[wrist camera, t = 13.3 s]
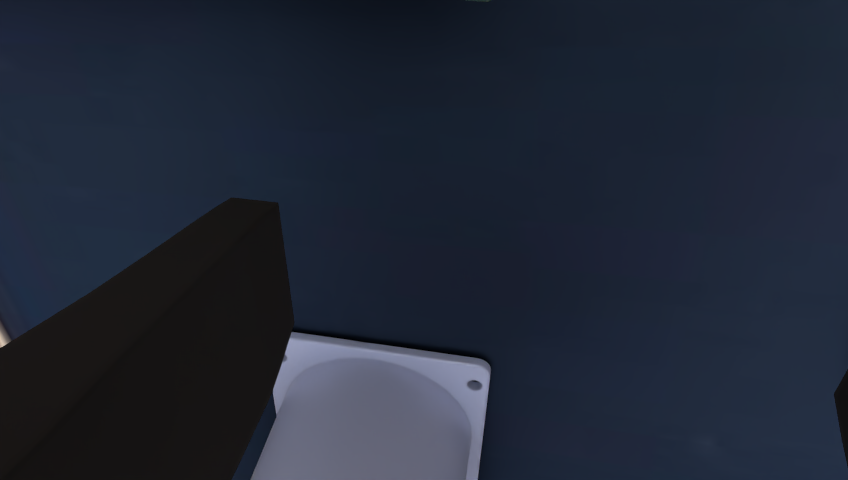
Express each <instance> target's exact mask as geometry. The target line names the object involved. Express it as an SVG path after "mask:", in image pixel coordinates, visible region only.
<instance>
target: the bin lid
mask: <svg viewBox="0 0 848 480" xmlns="http://www.w3.org/2000/svg"><path fill="white" fill-rule="evenodd" d="M467 1H479V2H490V1H491V0H467Z"/></svg>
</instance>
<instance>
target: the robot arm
mask: <svg viewBox="0 0 848 480" xmlns="http://www.w3.org/2000/svg"><path fill="white" fill-rule="evenodd" d="M293 326H294V316H293V308H292V301H291V294H290V286H289V279H288V272H287V264H286V257H285V250H284V242H283V235H282V228H281V220H280V213H279V206H278V203H276V202H267V201H258V200H249V199H240V198H230V199H228V200H227V201H225V202H223V203H222V204H220V205H218V206H217V207H215V208H214V209H212V210H211V211H209V212H208V213H206V214H205V215H203V216H202V217H200V218H199V219H197V220H196V221H195V222H193V223H192V224H190V225H189V226H187V227H186V228H184V229H183V230H181V231H180V232H179V233H177V234H176V235H174V236H173V237H171V238H170V239H168V240H167V241H166V242H164V243H163V244H161V245H160V246H158V247H157V248H155V249H154V250H153V251H151V252H150V253H148V254H147V255H145V256H144V257H142V258H141V259H139V260H138V261H136V262H135V263H133V264H132V265H130V266H129V267H127V268H126V269H124V270H123V271H122V272H120V273H119V274H117V275H116V276H114V277H113V278H111V279H110V280H108V281H107V282H105V283H104V284H102V285H101V286H99V287H98V288H96V289H95V290H93V291H92V292H90V293H89V294H87V295H86V296H84V297H82V298H81V299H79V300H78V301H76V302H74V303H73V304H71V305H69V306H68V307H66V308H65V309H63V310H61V311H60V312H58V313H57V314H55V315H53V316H52V317H50V318H48V319H47V320H45V321H44V322H42V323H40V324H39V325H37V326H36V327H34V328H32V329H31V330H29V331H27V332H26V333H24V334H23V335H21V336H19V337H18V338H16V339H15V340H13V341H11V342H10V343H8V344H6V345H5V346H3V347H1V348H0V480H232V478H233V475H234V473H235V471H236V469H237V467H238V465H239V463H240V461H241V459H242V456H243V454H244V452H245V450H246V448H247V446H248V444H249V442H250V439H251V437H252V435H253V433H254V431H255V429H256V426H257V424H258V422H259V420H260V418H261V416H262V414H263V411H264V409H265V407H266V405H267V403H268V400H269V398H270V396H271V394H272V391H273V397H274V403H275V409H276V415H277V417H276V419H275V422H274V424H273V427H272V429H271V431H270V434H269V436H268V439H267V441H266V443H265V446H264V448H263V451H262V453H261V456H260V458H259V460H258V463H257V465H256V468H255V470H254V472H253V475H252V477H251V480H478V473H479V464H480V456H481V448H482V440H483V431H484V423H485V415H486V407H487V398H488V390H489V382H490V374H491V368H490V365H489V364H488V363H487V362H486V361H484V360H482V359H479V358H473V357H466V356H459V355H452V354H445V353H438V352H431V351H424V350H417V349H410V348H403V347H396V346H389V345H382V344H375V343H368V342H361V341H354V340H347V339H340V338H332V337H325V336H318V335H311V334H304V333H297V332H292V329H293ZM471 380H476V381H479V382H474V381H471ZM834 397H835V403H836V409H837V415H838V420H839V426H840V432H841V437H842V442H843V447H844V452H845V456H846V461H847V466H848V370H847V372H846V373H845V375H844V377H843V379H842V381H841V382H840V384H839V386H838V388H837V390H836V391H835V393H834Z"/></svg>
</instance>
